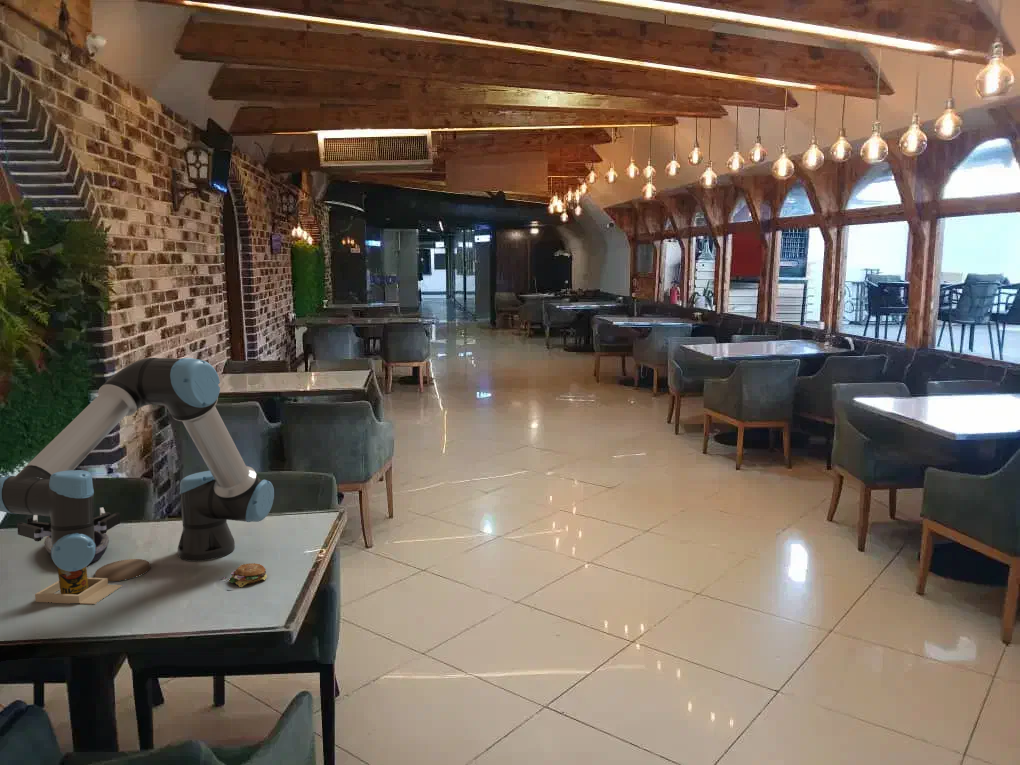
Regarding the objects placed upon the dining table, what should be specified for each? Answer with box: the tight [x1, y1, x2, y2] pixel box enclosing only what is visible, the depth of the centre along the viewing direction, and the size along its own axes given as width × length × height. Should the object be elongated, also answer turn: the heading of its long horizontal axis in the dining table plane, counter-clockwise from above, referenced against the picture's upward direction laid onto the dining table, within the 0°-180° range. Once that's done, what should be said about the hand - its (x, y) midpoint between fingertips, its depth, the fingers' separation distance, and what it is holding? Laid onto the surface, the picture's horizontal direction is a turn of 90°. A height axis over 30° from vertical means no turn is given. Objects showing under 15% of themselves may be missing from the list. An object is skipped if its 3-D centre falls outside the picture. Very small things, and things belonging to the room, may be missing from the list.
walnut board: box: [95, 558, 151, 582], centre depth 197 cm, size 13×13×1 cm
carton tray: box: [34, 576, 123, 605], centre depth 183 cm, size 16×11×2 cm
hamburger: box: [222, 562, 268, 588], centre depth 190 cm, size 14×14×6 cm
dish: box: [43, 531, 110, 563], centre depth 211 cm, size 16×31×5 cm, turn 37°
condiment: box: [54, 566, 89, 595], centre depth 183 cm, size 7×8×12 cm
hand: (69, 516), depth 176 cm, fingers open, 13 cm apart
